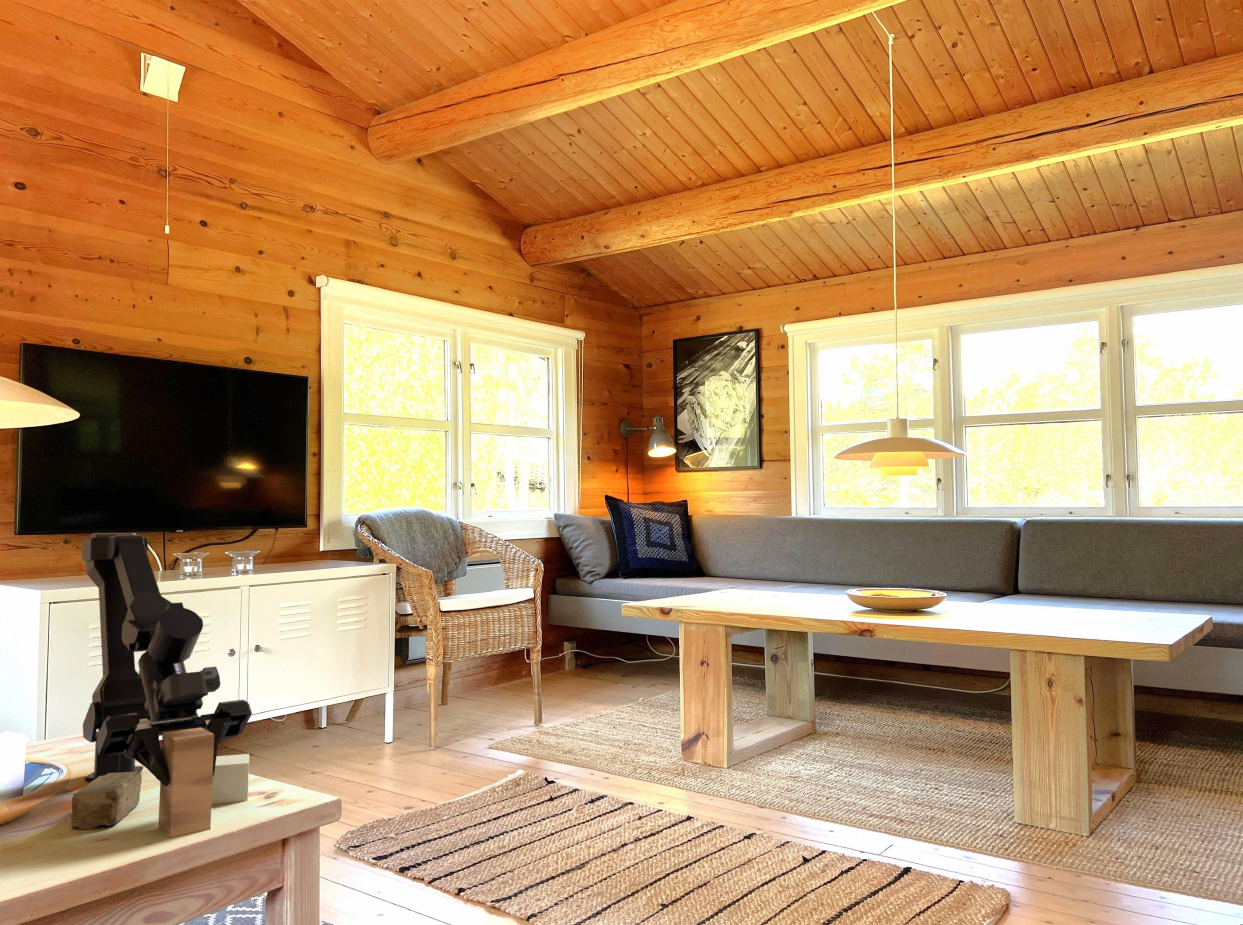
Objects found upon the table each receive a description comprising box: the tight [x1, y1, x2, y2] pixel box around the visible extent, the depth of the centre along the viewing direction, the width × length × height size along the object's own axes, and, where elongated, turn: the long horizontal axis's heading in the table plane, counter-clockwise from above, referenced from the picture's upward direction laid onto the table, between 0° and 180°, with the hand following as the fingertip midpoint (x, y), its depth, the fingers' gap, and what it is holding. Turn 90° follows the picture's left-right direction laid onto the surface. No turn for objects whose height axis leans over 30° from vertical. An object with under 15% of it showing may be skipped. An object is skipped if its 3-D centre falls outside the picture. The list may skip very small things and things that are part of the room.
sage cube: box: [211, 753, 250, 805], centre depth 138 cm, size 6×6×6 cm
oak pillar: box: [158, 728, 214, 838], centre depth 125 cm, size 5×5×12 cm
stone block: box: [70, 771, 143, 830], centre depth 129 cm, size 6×12×5 cm, turn 10°
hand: (189, 780), depth 124 cm, fingers open, 5 cm apart
